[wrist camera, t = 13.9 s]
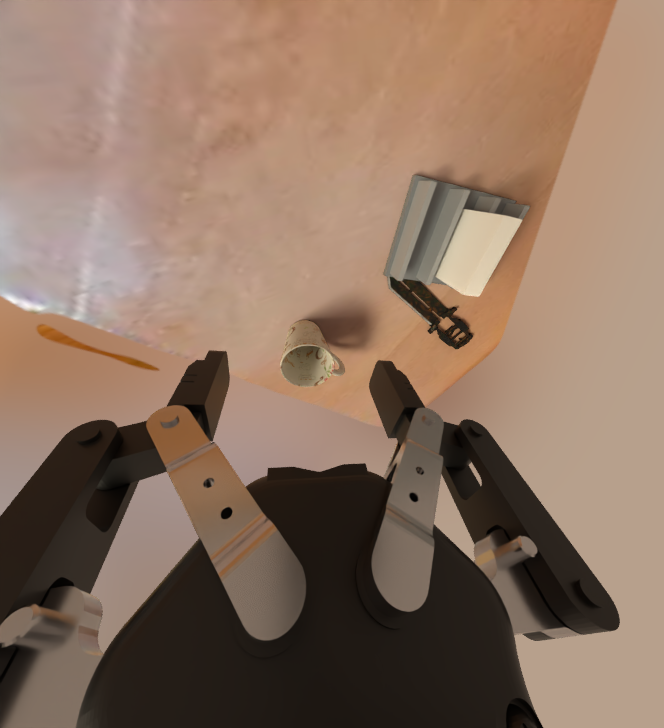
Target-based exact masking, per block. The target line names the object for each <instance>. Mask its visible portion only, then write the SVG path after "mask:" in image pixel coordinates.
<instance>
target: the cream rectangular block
mask: <svg viewBox="0 0 664 728" xmlns="http://www.w3.org/2000/svg"><path fill="white" fill-rule="evenodd" d="M521 222H522V219H518V218H514V217H510V216H505V215H499V214H493V213H486V212H480V211H473V210H467V209H463V210H462V212H461V214H460V217H459V219H458V221H457V224H456V226H455V228H454V231H453V233H452V235H451V238H450V240H449V242H448V245H447V247H446V249H445V252H444V254H443V256H442V259H441V261H440V263H439V266H438V268H437V270H436V273H435V275H434V276H435V277H437V278H438V279H440V280H441V281H443V282H444V283H446V284H447V285H449V286H450V287H452V288H454V289H455V290H457V291H458V292H460V293H461V294H463V295H469V296H476V297H479V296H480V294H481V292H482V291H483V289H484V287H485V285H486V284H487V282H488V280H489V278H490V276H491V275H492V273H493V271H494V269H495V268H496V266H497V264H498V262H499V261H500V259H501V257H502V255H503V254H504V252H505V250H506V248H507V247H508V245H509V243H510V241H511V240H512V238H513V236H514V234H515V233H516V231H517V229H518V227H519V226H520V224H521Z"/></svg>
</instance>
